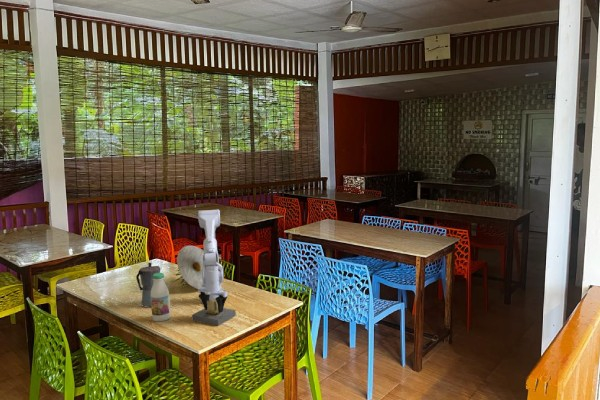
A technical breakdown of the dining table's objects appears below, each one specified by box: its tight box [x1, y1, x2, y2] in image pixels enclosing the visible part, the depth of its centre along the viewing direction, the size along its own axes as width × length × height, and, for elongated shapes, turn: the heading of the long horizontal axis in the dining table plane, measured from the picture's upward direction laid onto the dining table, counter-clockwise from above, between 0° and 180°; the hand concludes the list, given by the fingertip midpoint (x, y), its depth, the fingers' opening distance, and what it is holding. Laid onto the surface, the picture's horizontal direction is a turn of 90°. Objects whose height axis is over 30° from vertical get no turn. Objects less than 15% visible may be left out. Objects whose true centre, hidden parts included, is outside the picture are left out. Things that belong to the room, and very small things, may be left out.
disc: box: [171, 245, 204, 290], centre depth 247 cm, size 25×18×25 cm
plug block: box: [207, 298, 219, 316], centre depth 202 cm, size 4×4×8 cm
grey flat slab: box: [191, 307, 237, 327], centre depth 202 cm, size 14×12×2 cm
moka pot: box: [135, 262, 161, 308], centre depth 219 cm, size 10×15×20 cm, turn 161°
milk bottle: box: [150, 272, 172, 322], centre depth 202 cm, size 8×8×20 cm
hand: (213, 310), depth 202 cm, fingers open, 7 cm apart
